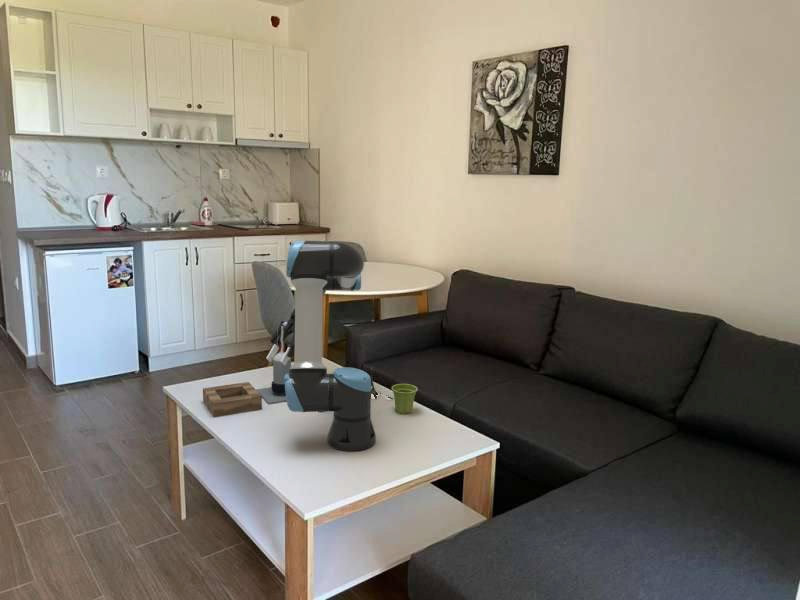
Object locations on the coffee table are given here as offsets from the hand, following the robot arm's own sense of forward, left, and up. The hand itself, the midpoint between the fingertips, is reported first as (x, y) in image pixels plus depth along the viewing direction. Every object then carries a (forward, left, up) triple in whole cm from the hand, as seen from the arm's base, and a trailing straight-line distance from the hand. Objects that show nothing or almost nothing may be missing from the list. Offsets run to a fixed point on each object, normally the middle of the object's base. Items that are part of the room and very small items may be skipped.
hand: (275, 361), depth 220 cm
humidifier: (+2, -3, -12) cm, 13 cm away
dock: (-1, +17, -14) cm, 22 cm away
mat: (+2, -3, -14) cm, 14 cm away
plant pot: (-33, -37, -14) cm, 52 cm away
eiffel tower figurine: (-15, -33, -15) cm, 40 cm away
